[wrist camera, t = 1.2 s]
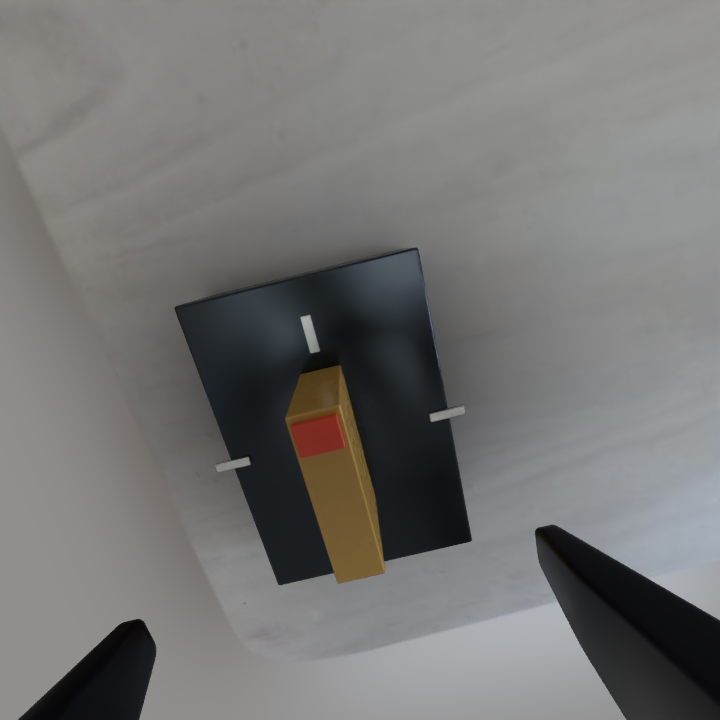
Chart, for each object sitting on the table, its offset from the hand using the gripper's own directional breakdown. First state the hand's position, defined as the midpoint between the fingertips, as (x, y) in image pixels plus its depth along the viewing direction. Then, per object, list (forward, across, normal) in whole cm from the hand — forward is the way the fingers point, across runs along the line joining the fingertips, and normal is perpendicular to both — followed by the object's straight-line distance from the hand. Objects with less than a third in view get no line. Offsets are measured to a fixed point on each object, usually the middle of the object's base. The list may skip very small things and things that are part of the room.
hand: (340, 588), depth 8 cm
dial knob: (+7, 0, 0) cm, 7 cm away
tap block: (+10, 0, 0) cm, 10 cm away
